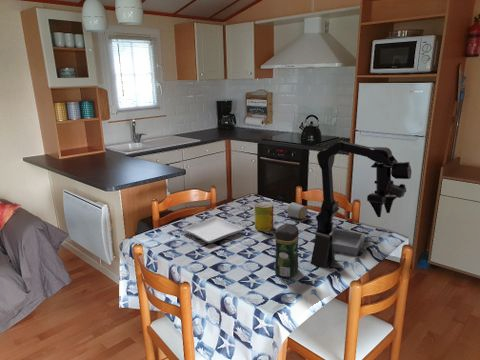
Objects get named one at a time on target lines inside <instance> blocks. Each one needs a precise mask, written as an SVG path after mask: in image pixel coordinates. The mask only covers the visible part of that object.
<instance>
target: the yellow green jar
mask: <svg viewBox="0 0 480 360" xmlns="http://www.w3.org/2000/svg"><path fill="white" fill-rule="evenodd" d="M254 229H255V230H256V231H258V230H259V232H269V231H270V232H271V231H273V229H274V203H273V202H269V201H259V202H256V203H254Z"/></svg>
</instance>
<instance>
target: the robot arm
mask: <svg viewBox="0 0 480 360" xmlns="http://www.w3.org/2000/svg"><path fill="white" fill-rule="evenodd" d="M340 152H345V153H350V154H353V155H359V156H362V157H366V158H368V159H369V160H371V161H373V162H374V163H373V164H372V165H371V166H370V168H371V169H374V168H376V169H375V171H376V172H375V173H376V175H375V177H376V178H375V179H376V180H374V184H375V187H376V188H375V189H376V190H374V192H372V193H369V194H368V195H366V198H367V199H366V201H367V202H368V203H370V206H371V207H372V209H373V210H374V212H375V215H376V217H377V218H381V216H382V209H383V205H384V209H385V213H387V214H390V213H391V209H392V206H393V203H394V201H395V200H396V199H397V198H400V199H401V198H402V197H404V196H405V194H406V193H407V187H406V185H405V184H404V183H400V184H399V185H398V184H395V183H394V181H393V180H392V178H394V179H396V180H397V179H398V180H410V179H411V178H412V167H411V165H410V161H404V162H398V160H397V159H396V157H395V156H394V155H393V151H391V149H390V147H385V146H383V147H381V146H373V147H372V146H367V145H362V144H356V143H353V142H349V141H348V142H347V141H345V140H340V141H337V142H336V143H335V144H333V145H331V146H330V147H327V148H324V149H321V150H320V151H318V152H317V154H316V159H317V163H318V166H319V167H320V170H321V180H322V181H321V182H322V197H323V198H322V199H323V200H322V203H321V206H320V213H318V214H317V215H316V216H315V220H316V221H317V226H316V227H317V228H316V231H315V232H316V233H318V232H321V233H324V234H328V235H329V234H330V233H331V231H332V230H333V229H334V222H333V218H334V217H335V215H336V214H338V212H339V210H340V207H339V201H336V200H335V198H334V196H335V195H334V180H333V167H334V163H335V156H336V155H337V154H339V153H340Z"/></svg>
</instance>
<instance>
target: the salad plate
mask: <svg viewBox="0 0 480 360" xmlns="http://www.w3.org/2000/svg"><path fill="white" fill-rule="evenodd" d="M243 229H244V228H243V227H241V226H239V225H237V224H235V223H232V222H230V221H228V220H226V219H224V218H223V219H222V218H221V217H218V216H216V217H213V218H209V219H206V220H202V221H199V222H197V223H194V224H191V225H188V226H185V227H183V228H182V230H183V231H184V232H185V233H187V234H189V235H192V236H193V237H196V238H198V239H200V240H202V242H205V243H207V244H212V243H215V242H217V241H220V240H223V239H225V238H229V237H232V236H234V235H236V234H238V233H241V231H243ZM228 236H229V237H228Z"/></svg>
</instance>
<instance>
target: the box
mask: <svg viewBox="0 0 480 360" xmlns="http://www.w3.org/2000/svg"><path fill="white" fill-rule="evenodd" d="M329 235H332V237H333V239H332V243H333V250H334V253H341V254H346V255H351V256H356V257H357V256H358V255H359V252H360V250H361V249H362V247H363V245H364V244H365V238H366V233H362V232H357V231H350V230H343V229H339V228H333V230H332V231H331V233H330V234H329Z"/></svg>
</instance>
